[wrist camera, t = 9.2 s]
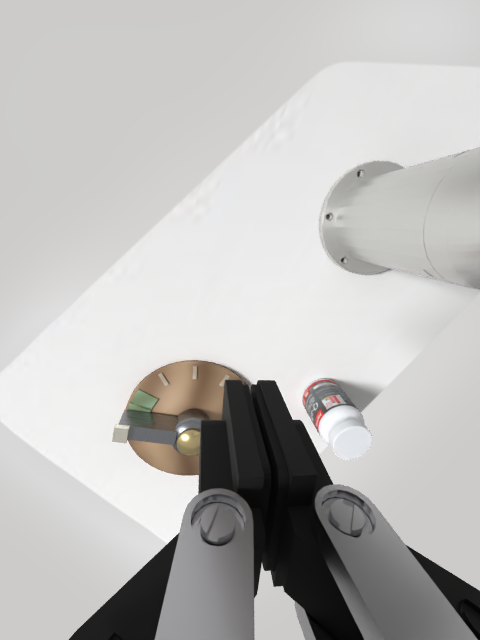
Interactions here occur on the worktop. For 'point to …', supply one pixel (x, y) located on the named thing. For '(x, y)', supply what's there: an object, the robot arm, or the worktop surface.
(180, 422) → the pointer lever
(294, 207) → the worktop surface
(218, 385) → the dial plate
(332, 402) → the pill bottle
